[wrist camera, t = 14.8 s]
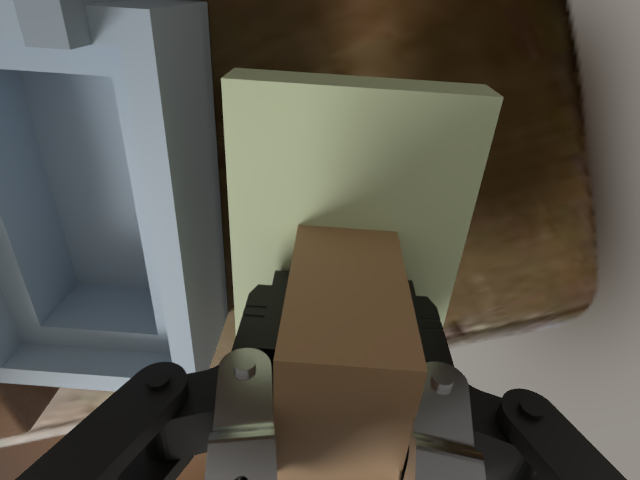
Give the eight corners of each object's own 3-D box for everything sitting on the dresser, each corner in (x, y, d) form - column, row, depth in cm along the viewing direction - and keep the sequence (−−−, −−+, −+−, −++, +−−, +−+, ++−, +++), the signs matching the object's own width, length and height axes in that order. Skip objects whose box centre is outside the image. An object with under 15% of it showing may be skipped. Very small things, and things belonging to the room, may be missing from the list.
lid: (247, 384, 19) (203, 571, 13) (234, 67, 12) (130, 149, 6) (410, 396, 19) (442, 589, 13) (485, 84, 12) (625, 183, 6)
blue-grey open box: (58, 300, 25) (-34, 403, 19) (-111, -228, 14) (-459, -389, 8) (228, 313, 25) (191, 420, 19) (193, -209, 14) (77, -357, 8)
